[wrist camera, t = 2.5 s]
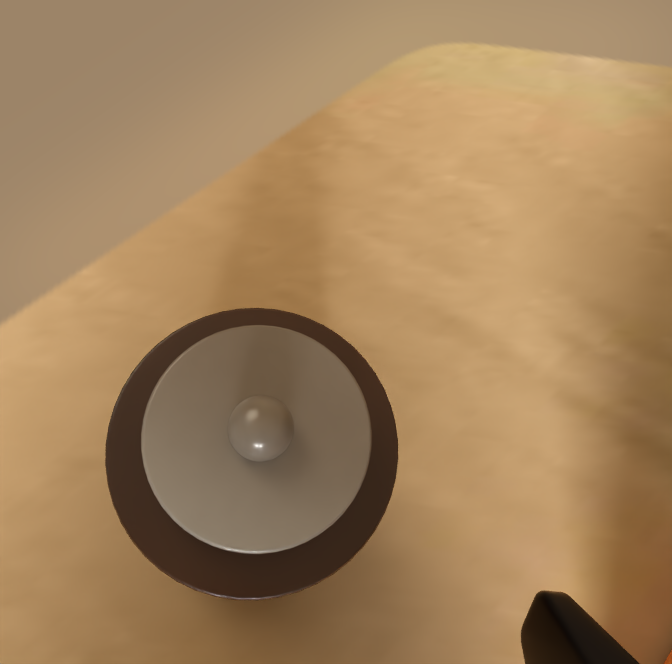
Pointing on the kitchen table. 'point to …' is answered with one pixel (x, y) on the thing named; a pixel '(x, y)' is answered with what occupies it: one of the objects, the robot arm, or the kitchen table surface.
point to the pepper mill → (251, 454)
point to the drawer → (669, 659)
